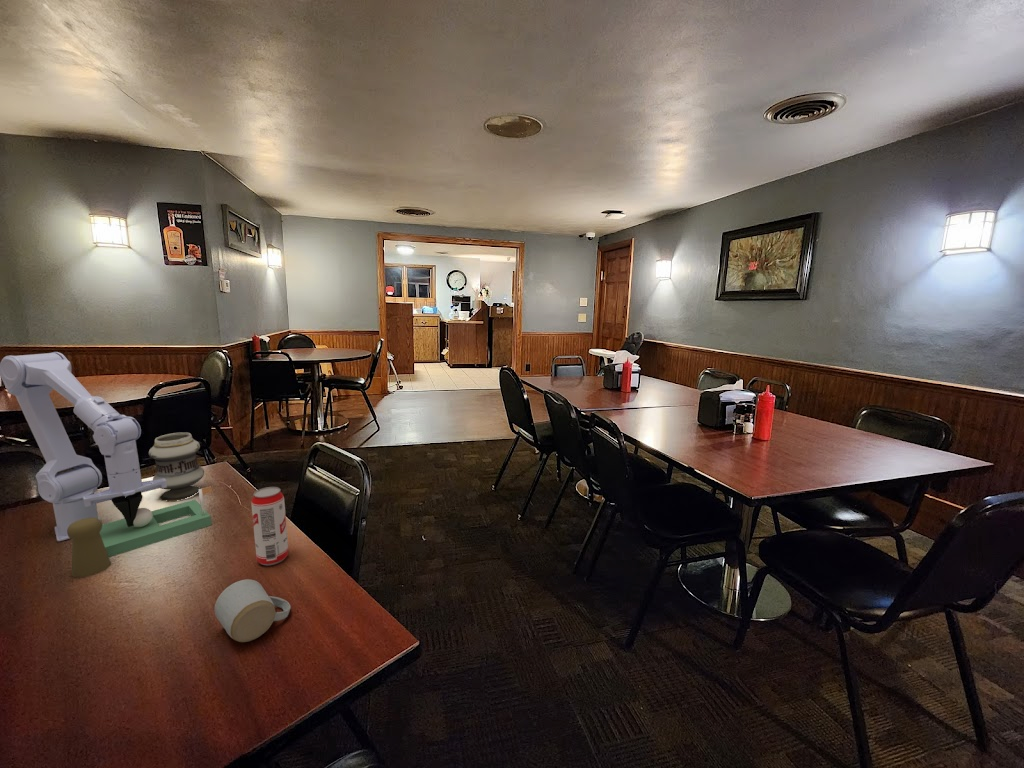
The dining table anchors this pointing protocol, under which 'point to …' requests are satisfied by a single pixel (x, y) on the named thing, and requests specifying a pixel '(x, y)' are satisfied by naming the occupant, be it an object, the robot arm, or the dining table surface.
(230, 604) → the ceramic mug
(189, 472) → the apothecary jar
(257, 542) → the beer can
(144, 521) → the egg
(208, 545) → the dining table surface
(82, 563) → the cork
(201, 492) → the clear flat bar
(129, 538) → the green
